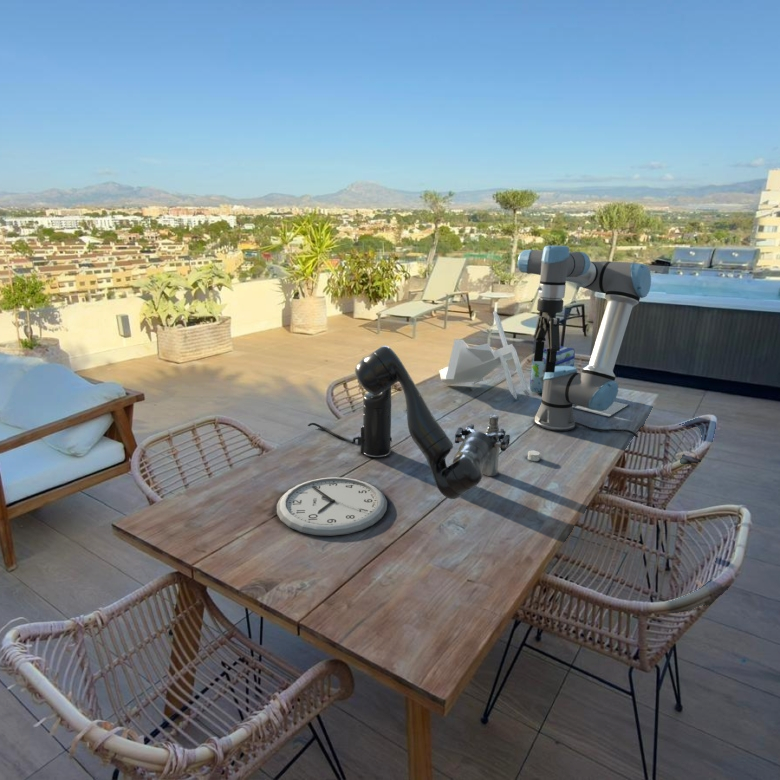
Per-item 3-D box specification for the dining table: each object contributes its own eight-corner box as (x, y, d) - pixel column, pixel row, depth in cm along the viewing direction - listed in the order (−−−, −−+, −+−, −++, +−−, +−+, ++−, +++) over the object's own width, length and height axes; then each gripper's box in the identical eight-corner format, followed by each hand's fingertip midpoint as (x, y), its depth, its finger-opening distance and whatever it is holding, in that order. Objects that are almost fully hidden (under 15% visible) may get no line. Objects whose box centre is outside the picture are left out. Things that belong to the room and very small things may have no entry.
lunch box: (546, 399, 235) (551, 353, 228) (525, 393, 242) (530, 349, 236) (574, 387, 252) (579, 345, 246) (553, 383, 260) (558, 341, 253)
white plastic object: (461, 429, 252) (437, 405, 227) (444, 352, 274) (420, 323, 250) (535, 404, 240) (518, 377, 215) (510, 326, 262) (492, 293, 237)
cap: (536, 456, 176) (536, 449, 175) (541, 460, 172) (542, 454, 172) (525, 456, 175) (526, 450, 175) (530, 461, 172) (531, 455, 171)
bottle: (498, 476, 161) (503, 418, 156) (483, 476, 161) (487, 418, 156) (495, 469, 166) (500, 413, 160) (480, 469, 166) (485, 413, 160)
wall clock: (392, 527, 129) (268, 531, 127) (391, 533, 130) (269, 537, 127) (383, 473, 158) (282, 475, 155) (383, 478, 158) (282, 480, 156)
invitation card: (608, 416, 214) (573, 407, 224) (608, 416, 214) (573, 408, 224) (628, 404, 229) (594, 396, 238) (628, 405, 229) (594, 397, 238)
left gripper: (503, 441, 131) (513, 420, 145) (448, 433, 136) (463, 413, 150) (501, 469, 133) (511, 445, 147) (447, 459, 138) (462, 437, 152)
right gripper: (528, 293, 170) (522, 356, 176) (549, 304, 146) (542, 377, 152) (551, 293, 170) (544, 357, 176) (576, 304, 146) (567, 377, 152)
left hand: (487, 429), depth 149 cm, fingers open, 8 cm apart
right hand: (543, 366), depth 164 cm, fingers open, 13 cm apart
